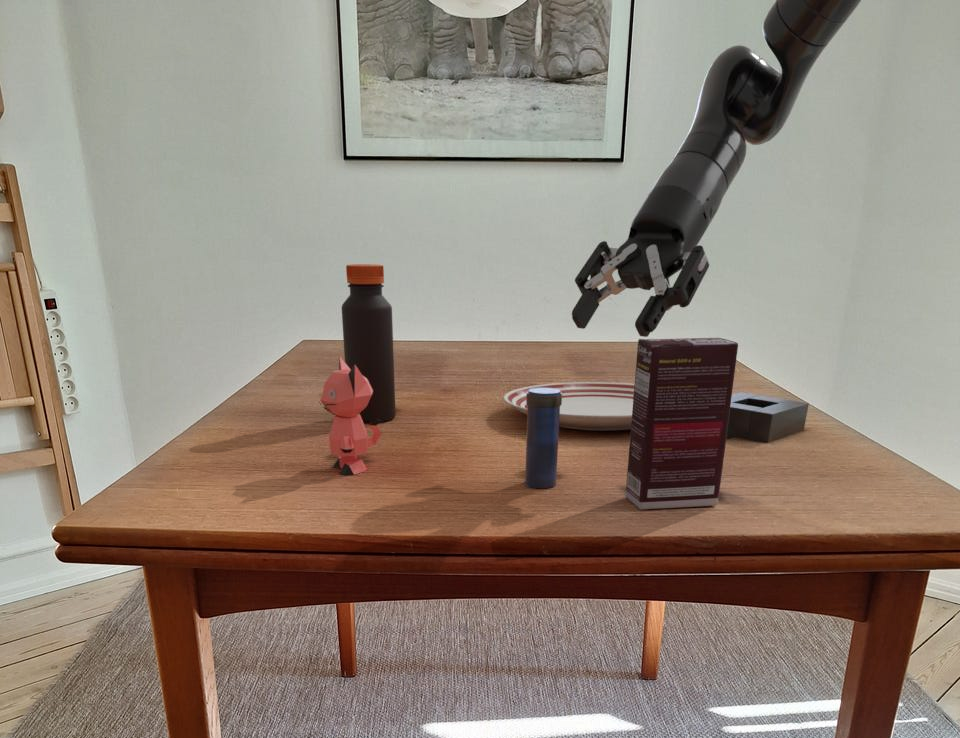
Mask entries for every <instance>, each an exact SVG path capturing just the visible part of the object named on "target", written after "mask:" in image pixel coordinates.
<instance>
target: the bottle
mask: <svg viewBox="0 0 960 738" xmlns="http://www.w3.org/2000/svg"><path fill="white" fill-rule="evenodd" d="M345 270H346V272H345V273H346V283H347V288H349V295H348V297H346V299H345V300H344V301H343V303H342V304H341V320H342V336H343V337H342V338H343V354H344V362H345V363H346V364H347V366H348V367H349V368H350V369H352V368H353V366H354V365H356V366H357V368H358V369H359V371H360V372H361V374H362V375H363V376H364V377H365V378H367V379H368V381H369V383H370V385H371V387H372V389H373V393H372V396H371V398H370V400H369V403H368V405H367V407H366V408H365V409H363V410H362V411H361V412H360V413H359V414H360V416H361V418H362V421H363V423H369V424H370V423H371V422H372V421H373V420H374V419H378V420H380V421H381V422H380V423H383V422H384V423H385V422H390V421H392V420H394V419H395V417H396V391H395V390H396V388H395V386H396V385H395V383H396V382H395V361H394V360H395V359H394V358H395V357H394V330H393V328H394V327H393V307H392V305H391V303H390V302H389V301H388V300H387V299H386V298H385V296H384V295H383V288H384V284H385V275H384V273H385V271H384V270H385V269H384V265H383V264H374V263H373V264H371V263H369V264H368V263H355V264H353V263H352V264H347V265H346V266H345Z"/></svg>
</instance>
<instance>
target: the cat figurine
mask: <svg viewBox="0 0 960 738" xmlns="http://www.w3.org/2000/svg"><path fill="white" fill-rule="evenodd" d="M338 357H339V359H338V369H336V370H334V371H333V372H332V373H331V374H330V375H329V377H328V378H327V379H326V381H324V385H323V390H322V393H321V392H319V395H321V397H320V401H318V403H319V404H320V406H321V407H322V408H323V410H326V412H328V413H330V414H332V415H333V416H334V417H333V421H332V424H331V428H330V432H329V435H328V441H329V448H330V454H331V455H333V456H337V457H338V458H337V459H336V461H335V462H334V463H333V464H332V467H333V468H336V469H340V472H339V474H340V475H342V476H354V475H358V474H361V473H365V472H366V471H367V470H368V468H367V466H366V465H365V463H364V461H363V460H362V458H360V457H357V456H365V455H367V454H368V447H373V446H375V445H376V443H377V442H378V440H379V439H380V437H381V436H382V434H383V432H382V431H381V429H380V428H379V427H378V426H377V425H379V424H380V423H382V422H381V421H380V420H378V419H374V420H373V421H372V422H371V423H369V424H368V427H369V428H370V430H371V431H372V432H373V434H372V436H371V438H369V434H368V431H367V428H366V425H365V422H363V421H362V418H361V416H360V414H359V413H360V412H361V411H362V410H363V409H365V408H366V407H367V405H368V403H369V400H370V398H371V396H372V393H373V389H372V387H371V385H370V383H369V381H368V379H367V378H365V377H364V376H363V375H362V374H361V372H360V371H359V369H358V368H357V366H356V365H354V366H353V368H352V369H350V368H349V367H348V366H347V364H346V363H345V360H343V358H342V357H341V356H340V355H339V356H338Z"/></svg>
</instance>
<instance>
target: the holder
mask: <svg viewBox="0 0 960 738" xmlns="http://www.w3.org/2000/svg"><path fill="white" fill-rule="evenodd" d="M809 404H810V403H809V402H805V401H798V400H797V401H796V400H791V399H785V398H778V397H772V396H765V395H760V394H759V395H758V394H753V393H748V392H747V393H746V392H741V391H740V392H736V393H732V397H731V405H730V413H729V422H728V429H727V437H726V441H727V440H731V439H733V438H740V439H744V440H745V439H746V440H751V441H755V442H760V443H766V444H769V443H772V442H775V441H777V440H781V439H783V438H788V437H790V436H792V435H795V434H797V433H801V432H803V431H805V426H806V422H807V416H808V410H809V406H810V405H809Z"/></svg>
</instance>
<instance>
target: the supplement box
mask: <svg viewBox="0 0 960 738" xmlns="http://www.w3.org/2000/svg"><path fill="white" fill-rule="evenodd" d="M738 349H739V343H738V342H736V341H734V340H730V339H727V338H726V339H725V338H722V337H694V338H693V337H692V338H689V337H688V338H639V339H638V340H637V349H636V350H637V351H636V360H635V361H636V362H635V374H634V384H635V386H634V396H633V410H632V422H631V430H630V436H629V447H628V448H629V449H628V461H627V472H626V483H625V498H627V499H628V500H629V501H630V502H631V503H632V504H633V505H634V506H635V507H636V508H638V509H639V510H640V511H643V510H658V509H659V510H661V509H674V508H675V509H676V508H679V509H680V508H693V507H712V506H713V507H715V506H718V504H719V497H720V490H721V482H722V474H723V467H724V462H725V461H724V460H725V459H724V458H725V453H726V443H727V440H726V437H727V429H728V422H729V413H730V405H731V397H732V395H733V389H734V388H733V387H734V381H735V372H736V367H737V366H736V365H737V359H738V358H737V357H738Z"/></svg>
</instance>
